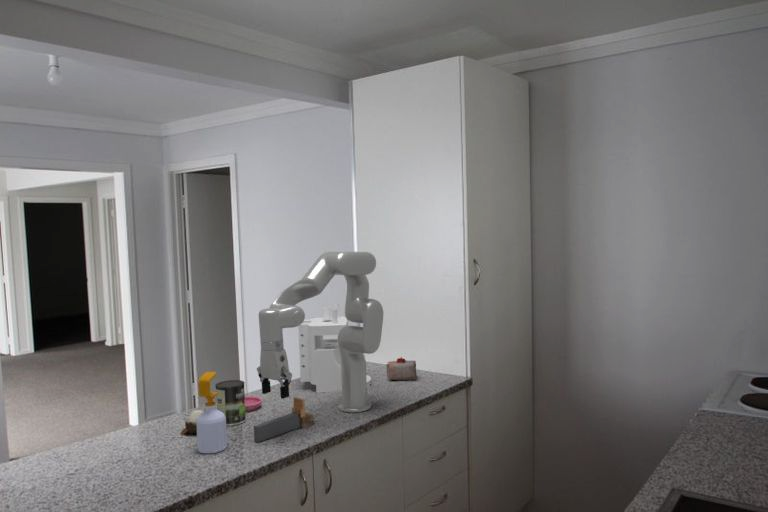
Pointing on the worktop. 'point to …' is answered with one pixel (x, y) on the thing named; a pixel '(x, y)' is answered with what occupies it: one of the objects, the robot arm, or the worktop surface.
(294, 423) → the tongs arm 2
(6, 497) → the worktop surface
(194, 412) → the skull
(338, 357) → the coffee machine
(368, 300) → the robot arm
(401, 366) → the food item
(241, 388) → the coffee can
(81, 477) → the worktop surface
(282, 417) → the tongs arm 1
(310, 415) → the block
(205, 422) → the spray bottle
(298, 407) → the tan wooden block
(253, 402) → the saucer
